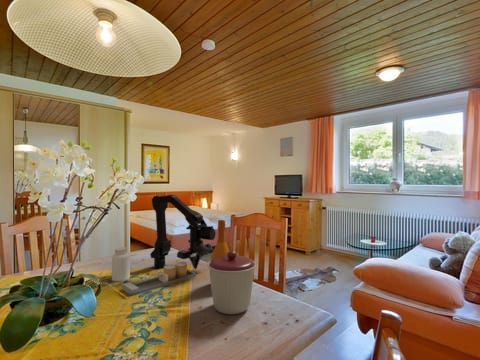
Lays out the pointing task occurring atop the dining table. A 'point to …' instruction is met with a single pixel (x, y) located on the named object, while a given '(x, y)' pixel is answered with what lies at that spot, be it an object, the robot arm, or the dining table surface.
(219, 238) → the wine bottle
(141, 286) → the tray
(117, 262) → the pill bottle
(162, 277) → the pusher
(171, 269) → the amber jar
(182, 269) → the amber jar
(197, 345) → the dining table surface
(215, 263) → the canister
